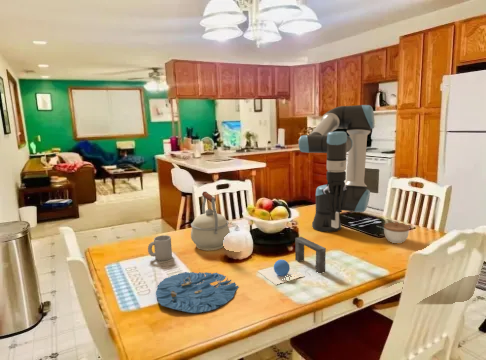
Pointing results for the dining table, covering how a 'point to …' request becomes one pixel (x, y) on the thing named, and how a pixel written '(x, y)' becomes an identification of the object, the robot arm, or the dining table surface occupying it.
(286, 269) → the ball
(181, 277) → the blue cloth
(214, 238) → the kettle
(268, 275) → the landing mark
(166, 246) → the cup
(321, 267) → the bridge
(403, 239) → the white lidded pot
